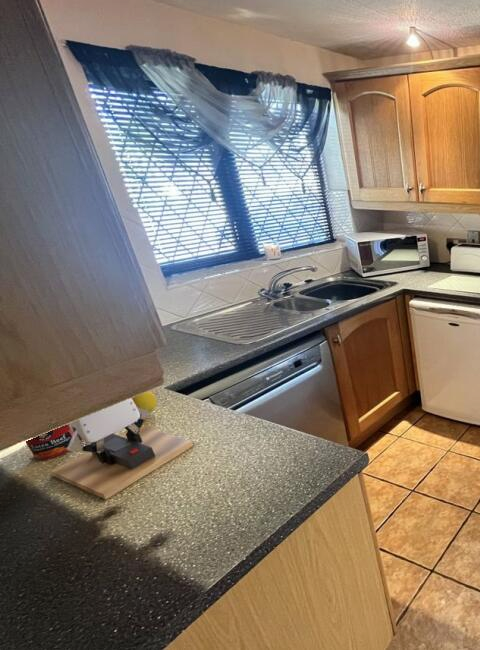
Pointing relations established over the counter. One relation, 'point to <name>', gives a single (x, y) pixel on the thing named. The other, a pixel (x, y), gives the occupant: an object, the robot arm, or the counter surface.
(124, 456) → the remote
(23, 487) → the counter surface
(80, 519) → the counter surface
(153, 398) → the lemon
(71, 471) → the board
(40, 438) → the canned food
